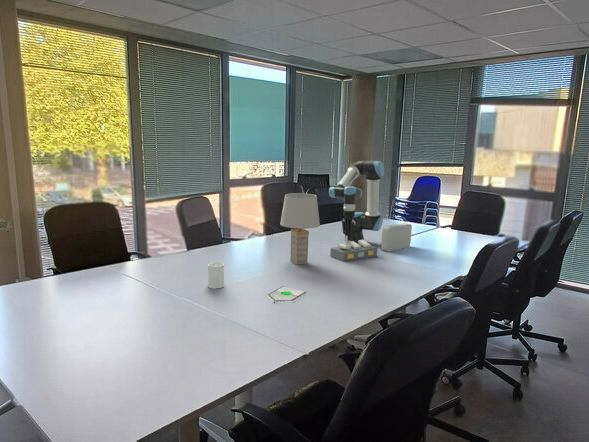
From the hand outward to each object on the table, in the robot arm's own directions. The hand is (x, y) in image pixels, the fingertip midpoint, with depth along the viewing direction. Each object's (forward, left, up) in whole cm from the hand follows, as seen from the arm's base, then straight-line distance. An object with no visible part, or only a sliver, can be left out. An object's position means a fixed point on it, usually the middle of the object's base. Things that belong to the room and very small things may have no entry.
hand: (347, 244), depth 275 cm
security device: (+39, -73, -11) cm, 84 cm away
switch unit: (-3, +9, -10) cm, 13 cm away
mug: (+8, -95, -10) cm, 96 cm away
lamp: (-8, -33, -10) cm, 36 cm away
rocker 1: (-3, 0, -2) cm, 4 cm away
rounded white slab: (-5, +52, -10) cm, 53 cm away
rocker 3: (-3, +18, -2) cm, 18 cm away
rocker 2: (-3, +9, -2) cm, 9 cm away
